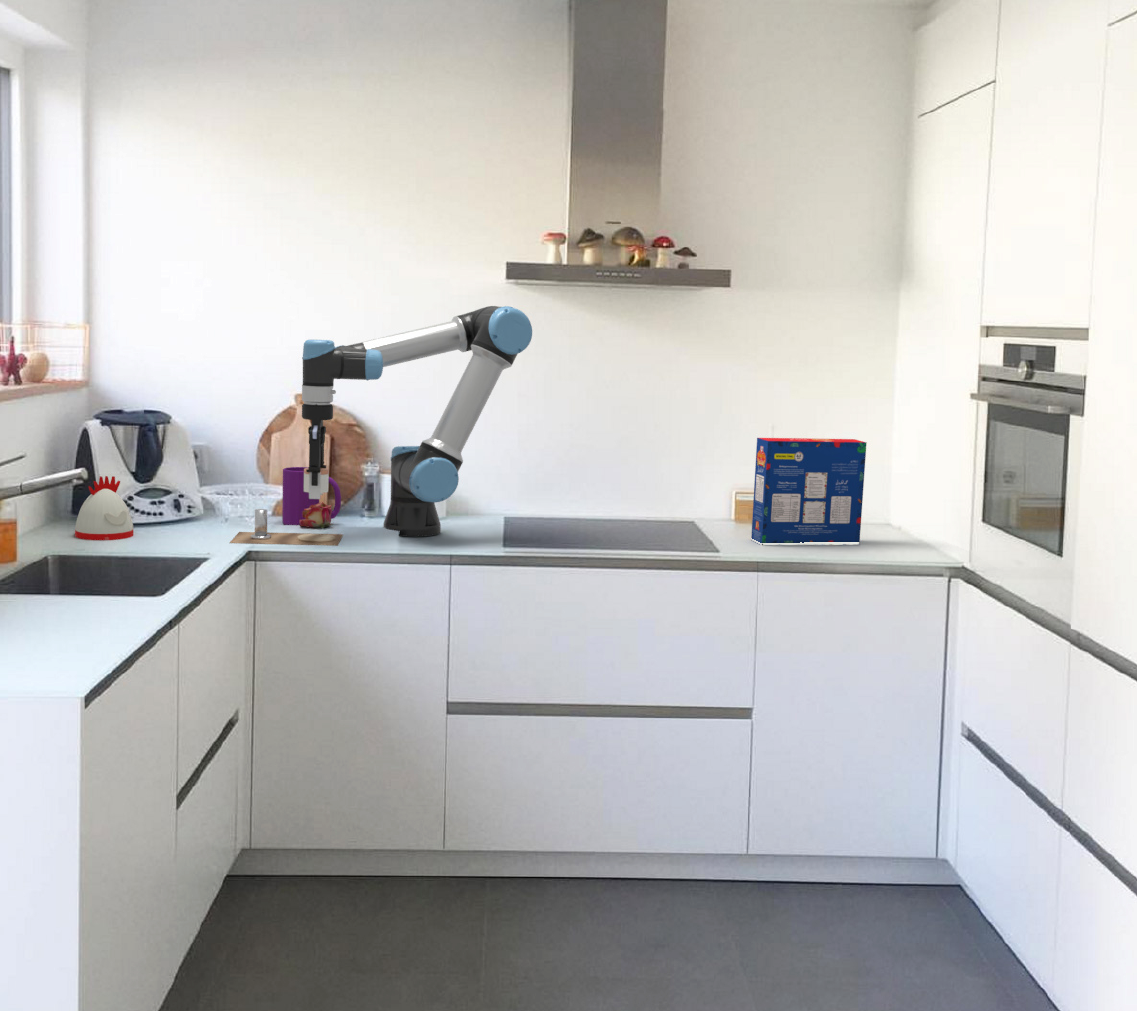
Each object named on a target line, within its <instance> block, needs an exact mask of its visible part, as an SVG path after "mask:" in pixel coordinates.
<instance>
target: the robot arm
mask: <svg viewBox="0 0 1137 1011" xmlns="http://www.w3.org/2000/svg"><path fill="white" fill-rule="evenodd" d="M532 337H533V326H532V323H531V320H530V319H529V317H528V316H527V314H526V313H525V312H523V311H522V310H520V309H518V308H515V307H512V306H507V305H505V306H498V305H497V306H496V305H490V306H485V307H481V308H478V309H475V310H472V311H470V312H467V313H462V314H460V315H456V316H453V317H452V319H451V321H446V322H442V323H438V324H434V325H429V326H424V327H421V328H417V329H413V330H408V331H404V332H399V333H395V334H391V335H387V336H382V337H378V338H374V339H371V340H370V339H369V340H366V341H361V342H358V343H354V344H353V343H352V344H348V345H343V344H342V345H337V346H335V342H334V340H331V339H307V340H305V341H304V342H303V348H302V351H303V352H302V358H301V359H302V384H301V401H302V402H303V403H302V405H301V418H302V419H303V420H306V421H307V420H308V421H309V420H310V421H311V423H310V425H309V427H308V430H307V432H308V445H309V448H308V450H309V452H308V453H309V454H308V457H309V458H308V469H306V472H309V499H319V500H321V496H323V495H324V493H320V492H321V472H320V471H321V469H320V468H326V469H327V464H325V442H326V432H327V427H326V426H325V425H324V421H331V420H332V419H334V405H333V404H331V403H333V402H334V395H336V393H337V391H336V390H335V389H334V382H335V381H334V380H354V381H355V380H359V381H360V380H361V381H362V380H366V381H369V380H370V381H372V380H379V379H380V378H381V377H382V375H383V370H384V368H386V367H389V366H395V365H399V364H402V363H407V362H410V361H415V360H420V359H424V358H428V357H433V356H437V355H441V354H445V353H448V352H452V351H457V350H458V351H460V352H461V353H466V352H469V351H472V356H471V357H470V359H469V362H468V364H467V365H466V368H465V369H464V372H463V373H462V375H461V378H460V379H459V382H458V384H457V386H456V387H455V389H454V391H453V393H452V395H451V397H450V399H449V401H448V403H447V405H446V407H445V409H444V411H443V412H442V415H441V417H440V419H439V421H438V423H437V425H436V427H435V429H434V431H433V432H432V435H431V437H430V438H426V439H424V440H422V442H420V445H406V446H405V445H404V446H403V445H400V446H399V445H398V446H395V447H393V448H392V450H391V457H390V502H389V507H388V508H387V512H386V516H385V518H384V520H383V525H382V526H383V527H382V528H384V529H387V530H391V531H394V532H395V531H396V532H398V537H413V538H415V537H430V536H432V537H433V536H436V535H439V534H441V532H442V531H441V526H442V525H441V521H440V518H439V514H438V512H437V508H436V503H440V502H443V501H446V500H447V499H449V498H450V497H451V496H452V495H453V494H455V491H456V490H457V488H458V485H459V479H460V478H459V470H460V469H461V466H462V465H463V463H464V459H463V456H462V451H463V449H464V448H465V446H466V443H467V442H468V440H469V438H470V436H471V434H472V432H473V430H474V427H475V426H476V424H477V422H478V420H479V418H480V416H481V414H482V412H483V410H484V409H485V406H486V404H487V402H488V399H489V398H490V396H491V395H492V392H493V390H494V388H495V386H496V384H497V382H498V381H499V379H500V376H501V374H502V372H503V371H504V370H506V369H508V368H511V367H512V366H513V364H514V362H515V360H516V358H517V356H518V354H521V353H522V352H523V351H525V350H526V349H527V348H528V346H529V345H530V343H531V342H532V339H533V338H532Z"/></svg>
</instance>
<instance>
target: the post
mask: <svg viewBox="0 0 1137 1011" xmlns="http://www.w3.org/2000/svg"><path fill="white" fill-rule="evenodd" d="M254 532H255V534H253V535H251V539H256V540H266V539H271V535H269V534H267V532H268V509H266V508H256V509H254Z"/></svg>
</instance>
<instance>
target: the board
mask: <svg viewBox="0 0 1137 1011" xmlns="http://www.w3.org/2000/svg"><path fill="white" fill-rule="evenodd" d="M253 534H255V531H239V532H237V533H236V535H235V536H234V537H233V538H232V539H231V540H230V542H229V544H248V545H249V544H250V545H251V544H253V545H254V544H255V545H288V546H290V545H293V546H295V545H296V546H332V547H334V546H335V547H337V546H339V544H340V542H341V540H342V538H343V536H344V534H341V533H327V534H328V535H333V536H334V537H335V540H333V541H329V542H304V541H300V540H298V536H299V535H303V534H312V533H311V532H309V533H306V532H305V533H304V532H303V533H301V532H299V533H298V532H268V531H267V534H269V535H271V539H266V540H256V539H251V535H253Z"/></svg>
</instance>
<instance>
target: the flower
mask: <svg viewBox="0 0 1137 1011" xmlns="http://www.w3.org/2000/svg"><path fill="white" fill-rule="evenodd" d="M332 506H333V505H332V504H330V505H329V504H326V503H324V502H319V503H318V504H316V505H311V506H310V507H309V509H304V511H302V514H303V517H304V518H305V519H304V520H300V521H299V523H300V525H298V526H299V528H301V527H305V528H317V529H318V528H320V529H324V528H325V527H328V528H329V527H331V526H332V525H333V523H331V522H332V519H331V513H332V511H333V509H332Z"/></svg>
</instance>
